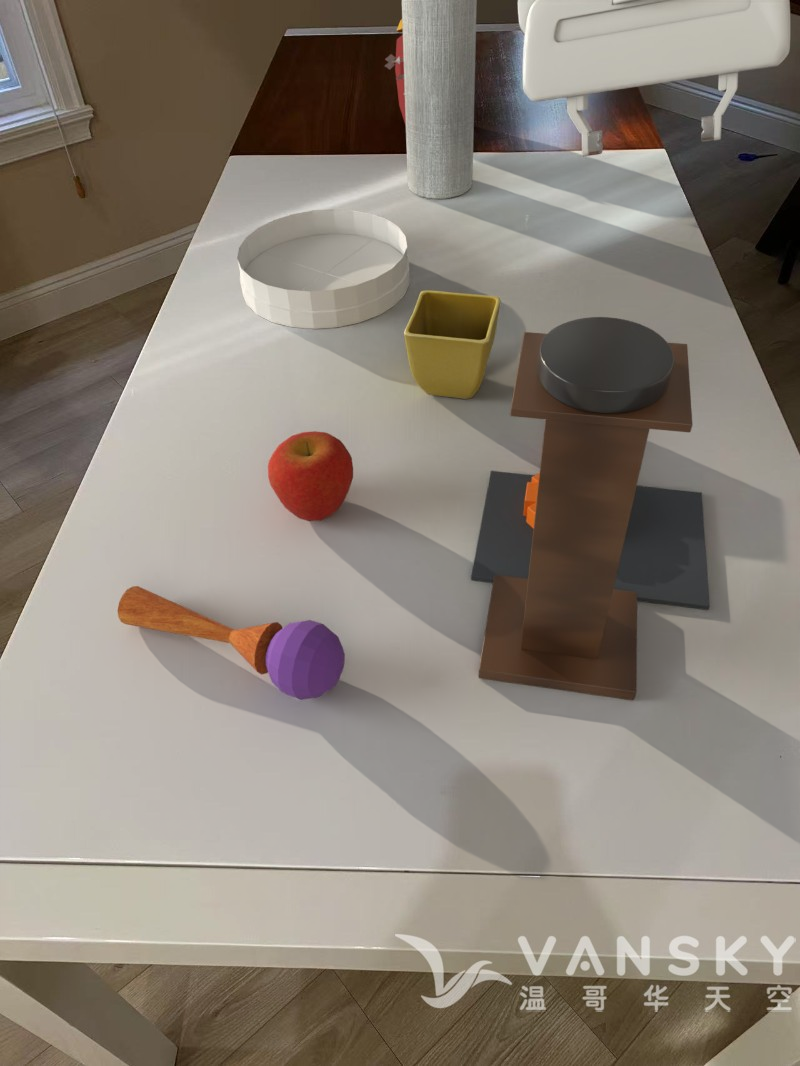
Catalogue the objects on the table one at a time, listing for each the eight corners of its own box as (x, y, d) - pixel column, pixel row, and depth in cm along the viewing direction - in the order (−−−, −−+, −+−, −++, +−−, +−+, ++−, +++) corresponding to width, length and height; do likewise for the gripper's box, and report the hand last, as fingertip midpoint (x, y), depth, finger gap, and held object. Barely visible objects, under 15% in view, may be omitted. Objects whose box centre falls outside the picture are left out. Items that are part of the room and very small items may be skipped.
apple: (259, 510, 80) (245, 448, 74) (316, 467, 84) (307, 405, 78) (316, 546, 76) (305, 484, 70) (373, 500, 80) (367, 437, 74)
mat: (700, 495, 78) (701, 492, 78) (708, 610, 69) (710, 606, 69) (490, 474, 82) (491, 470, 81) (470, 580, 72) (471, 576, 72)
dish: (442, 267, 110) (442, 231, 107) (343, 347, 98) (339, 310, 95) (312, 229, 120) (308, 195, 116) (207, 298, 107) (198, 263, 104)
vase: (485, 183, 128) (492, -22, 109) (442, 206, 123) (442, -4, 104) (437, 167, 133) (436, -32, 114) (394, 188, 128) (385, -16, 109)
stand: (634, 600, 70) (709, 313, 50) (634, 701, 63) (719, 414, 43) (493, 583, 72) (511, 299, 52) (478, 678, 65) (492, 394, 45)
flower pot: (485, 414, 88) (488, 341, 82) (405, 404, 90) (402, 333, 84) (497, 366, 94) (501, 296, 88) (422, 359, 96) (421, 289, 89)
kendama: (147, 557, 70) (355, 616, 63) (160, 611, 74) (359, 673, 66) (98, 598, 66) (316, 666, 59) (115, 653, 69) (323, 724, 62)
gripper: (506, -29, 64) (518, 166, 70) (800, -91, 56) (785, 134, 62) (524, -21, 69) (534, 159, 75) (796, -77, 61) (782, 129, 67)
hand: (650, 148), depth 68 cm, fingers open, 8 cm apart
